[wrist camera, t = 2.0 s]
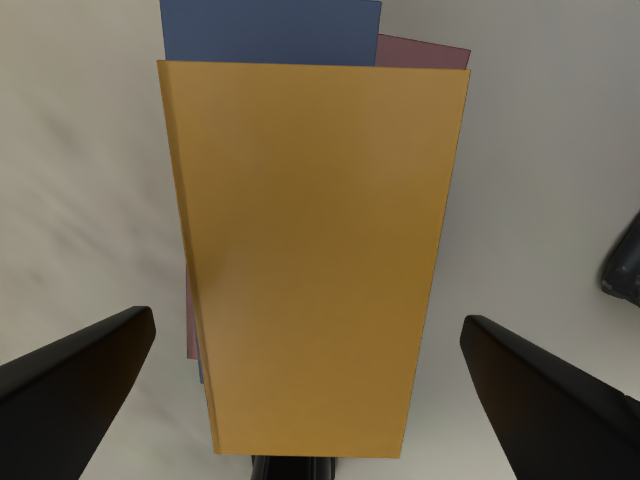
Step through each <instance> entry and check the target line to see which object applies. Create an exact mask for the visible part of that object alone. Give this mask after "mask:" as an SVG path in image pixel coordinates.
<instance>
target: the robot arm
mask: <svg viewBox="0 0 640 480" xmlns="http://www.w3.org/2000/svg"><path fill="white" fill-rule="evenodd" d="M155 336H156V328H155V323H154V318H153V313H152V310H151V308H150V307H148V306H133V307H131V308H128V309H126V310H124V311H122V312H120V313H117V314H115V315H113V316H111V317H108V318H106V319H104V320H102V321H100V322H97V323H95V324H93V325H91V326H88V327H86V328H84V329H82V330H79V331H77V332H75V333H73V334H71V335H68V336H66V337H64V338H62V339H59V340H57V341H55V342H53V343H50V344H48V345H46V346H44V347H42V348H39V349H37V350H35V351H33V352H30V353H28V354H26V355H24V356H21V357H19V358H17V359H15V360H13V361H10V362H8V363H6V364H4V365H1V366H0V480H78V479H79V478H80V476H81V474H82V473H83V471H84V469H85V467H86V466H87V464H88V462H89V461H90V459H91V457H92V456H93V454H94V452H95V450H96V449H97V447H98V445H99V444H100V442H101V440H102V438H103V437H104V435H105V433H106V432H107V430H108V428H109V426H110V425H111V423H112V421H113V420H114V418H115V416H116V415H117V413H118V411H119V409H120V408H121V406H122V404H123V403H124V401H125V399H126V397H127V396H128V394H129V392H130V390H131V389H132V387H133V385H134V383H135V381H136V378H137V376H138V374H139V372H140V370H141V368H142V365H143V363H144V361H145V359H146V357H147V354H148V352H149V350H150V348H151V346H152V343H153V341H154V339H155ZM460 346H461V349H462V352H463V355H464V358H465V361H466V364H467V366H468V369H469V372H470V375H471V378H472V381H473V383H474V386H475V389H476V392H477V394H478V397H479V399H480V401H481V404H482V406H483V408H484V410H485V412H486V414H487V417H488V419H489V421H490V423H491V425H492V427H493V429H494V431H495V433H496V436H497V438H498V440H499V442H500V444H501V446H502V448H503V450H504V453H505V455H506V457H507V459H508V461H509V463H510V465H511V467H512V469H513V472H514V474H515V476H516V478H517V480H640V402H639V401H637V400H635V399H634V398H632V397H630V396H628V395H624V393H622V392H621V391H619V390H617V389H615V388H613V387H612V386H610V385H608V384H606V383H604V382H602V381H601V380H599V379H597V378H595V377H593V376H591V375H590V374H588V373H586V372H584V371H582V370H581V369H579V368H577V367H575V366H573V365H571V364H570V363H568V362H566V361H564V360H562V359H561V358H559V357H557V356H555V355H553V354H551V353H550V352H548V351H546V350H544V349H542V348H540V347H539V346H537V345H535V344H533V343H531V342H530V341H528V340H526V339H524V338H522V337H520V336H519V335H517V334H515V333H513V332H511V331H510V330H508V329H506V328H504V327H502V326H500V325H499V324H497V323H495V322H493V321H491V320H490V319H488V318H486V317H484V316H482V315H468V316H466V317H465V320H464V324H463V328H462V332H461V336H460ZM251 456H252V465H253V471H252V476H251V480H334V479H335V459H336V457H317V456H275V455H251Z"/></svg>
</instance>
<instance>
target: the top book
mask: <svg viewBox="0 0 640 480" xmlns="http://www.w3.org/2000/svg"><path fill="white" fill-rule="evenodd" d="M157 67H158V74H159V81H160V87H161V94H162V101H163V108H164V114H165V121H166V128H167V135H168V142H169V148H170V155H171V162H172V169H173V175H174V182H175V189H176V196H177V202H178V209H179V216H180V223H181V230H182V236H183V243H184V250H185V257H186V263H187V270H188V277H189V284H190V291H191V297H192V304H193V311H194V318H195V324H196V331H197V338H198V345H199V351H200V358H201V365H202V372H203V379H204V385H205V392H206V399H207V406H208V412H209V419H210V426H211V433H212V440H213V446H214V453H215V454H234V455H275V456H317V457H359V458H400V453H401V447H402V442H403V437H404V431H405V426H406V420H407V415H408V409H409V404H410V398H411V393H412V388H413V382H414V377H415V371H416V366H417V360H418V355H419V350H420V344H421V339H422V333H423V328H424V322H425V317H426V311H427V306H428V301H429V295H430V290H431V284H432V279H433V273H434V268H435V262H436V257H437V252H438V246H439V241H440V235H441V230H442V224H443V219H444V213H445V208H446V203H447V197H448V192H449V186H450V181H451V175H452V170H453V165H454V159H455V154H456V148H457V143H458V137H459V132H460V126H461V121H462V116H463V110H464V105H465V99H466V94H467V88H468V83H469V77H470V72H471V70H467V69H434V68H401V67H367V66H334V65H301V64H268V63H234V62H201V61H168V60H158V61H157Z"/></svg>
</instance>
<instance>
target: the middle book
mask: <svg viewBox="0 0 640 480" xmlns="http://www.w3.org/2000/svg"><path fill="white" fill-rule="evenodd" d="M381 4H382V2H381V1H370V0H160V9H161V18H162V28H163V37H164V46H165V56H166V60H168V61H201V62H234V63H268V64H301V65H334V66H367V67H375V58H376V49H377V40H378V31H379V22H380V13H381ZM191 298H192V297H191ZM192 308H193V304H192ZM193 317H194V311H193ZM194 326H195V336H196V345H197V354H198V364H199V373H200V382H201V384H204V379H203V372H202V365H201V358H200V351H199V345H198V338H197V331H196V324H195V318H194Z"/></svg>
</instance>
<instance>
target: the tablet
mask: <svg viewBox="0 0 640 480" xmlns="http://www.w3.org/2000/svg"><path fill="white" fill-rule="evenodd" d="M601 287H602V291H603V292H605V293H607V294H609V295H612V296H614V297H617V298H621V299H625V300H627V301H629V302H631V303H633V304H634V305H636V306H638V307H639V308H640V218H639V219H638V221H637V222H636V223H635V225H634V226H633V227H632V229H631V230H630V232H629V233H628V235H627V236H626V238H625V239H624V241H623V242H622V244H621V245H620V247H619V248H618V249H617V251H616V252H615V254H614V255H613V257H612V258H611V260H610V261H609V263H608V265H607V267H606V269H605V270H604V273H603V276H602V286H601Z"/></svg>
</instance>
